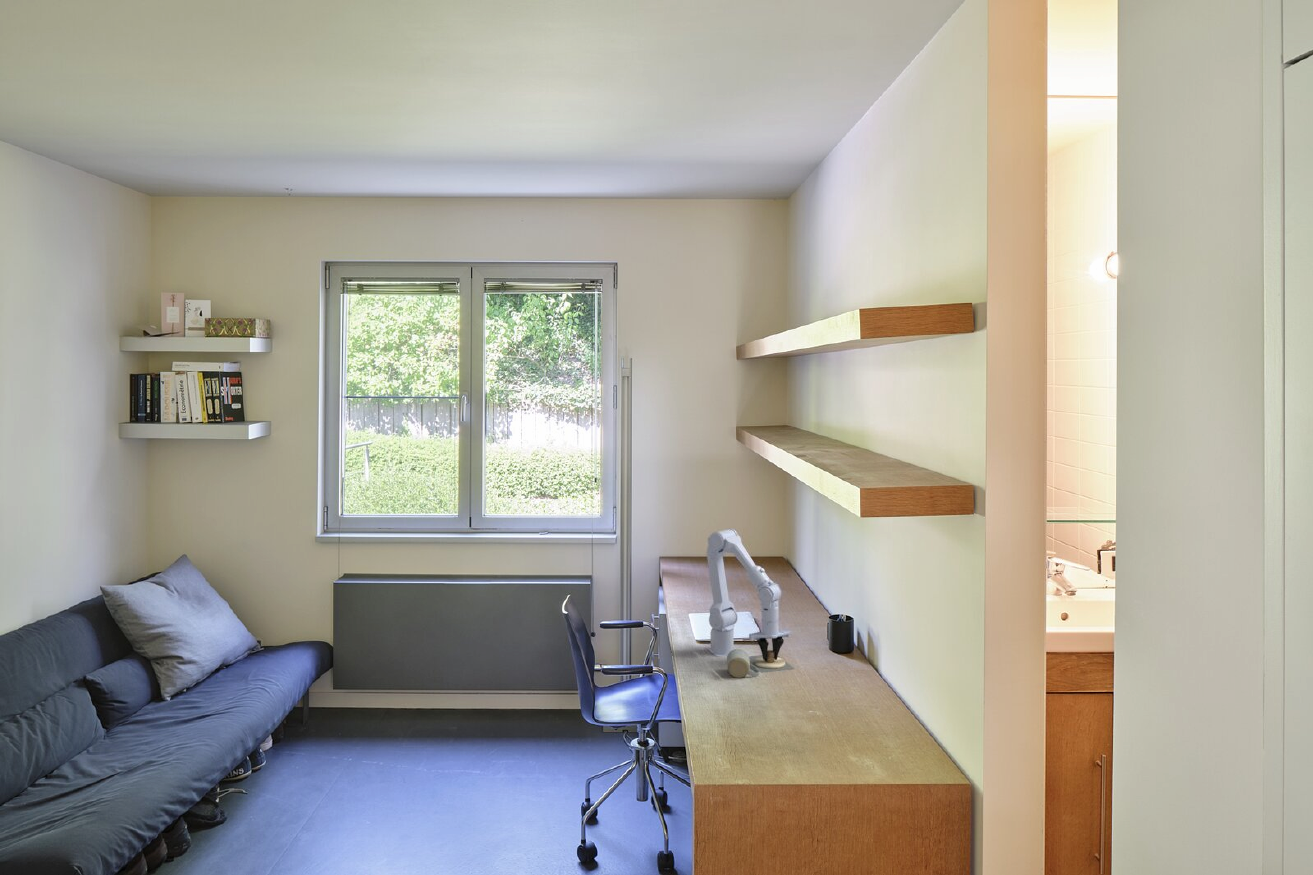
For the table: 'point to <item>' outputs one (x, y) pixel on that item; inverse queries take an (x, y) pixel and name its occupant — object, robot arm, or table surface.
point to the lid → (770, 661)
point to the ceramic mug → (740, 664)
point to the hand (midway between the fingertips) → (769, 659)
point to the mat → (786, 667)
